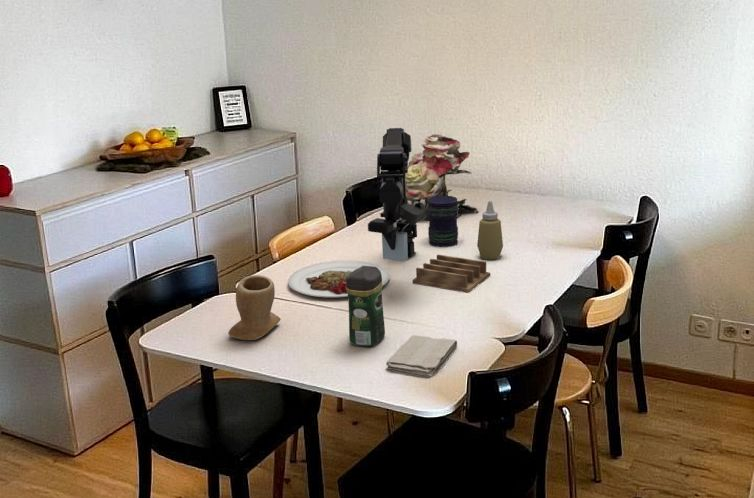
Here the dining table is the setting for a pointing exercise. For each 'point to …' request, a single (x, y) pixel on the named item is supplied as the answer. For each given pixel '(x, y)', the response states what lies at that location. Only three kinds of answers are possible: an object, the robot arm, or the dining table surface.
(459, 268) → the dish rack
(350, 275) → the coffee jar
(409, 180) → the rose bouquet
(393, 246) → the robot arm
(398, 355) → the washcloth
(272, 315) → the stone cup
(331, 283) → the plated food
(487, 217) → the squeeze bottle
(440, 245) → the storage jar
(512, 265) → the dining table surface
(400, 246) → the plate tile
